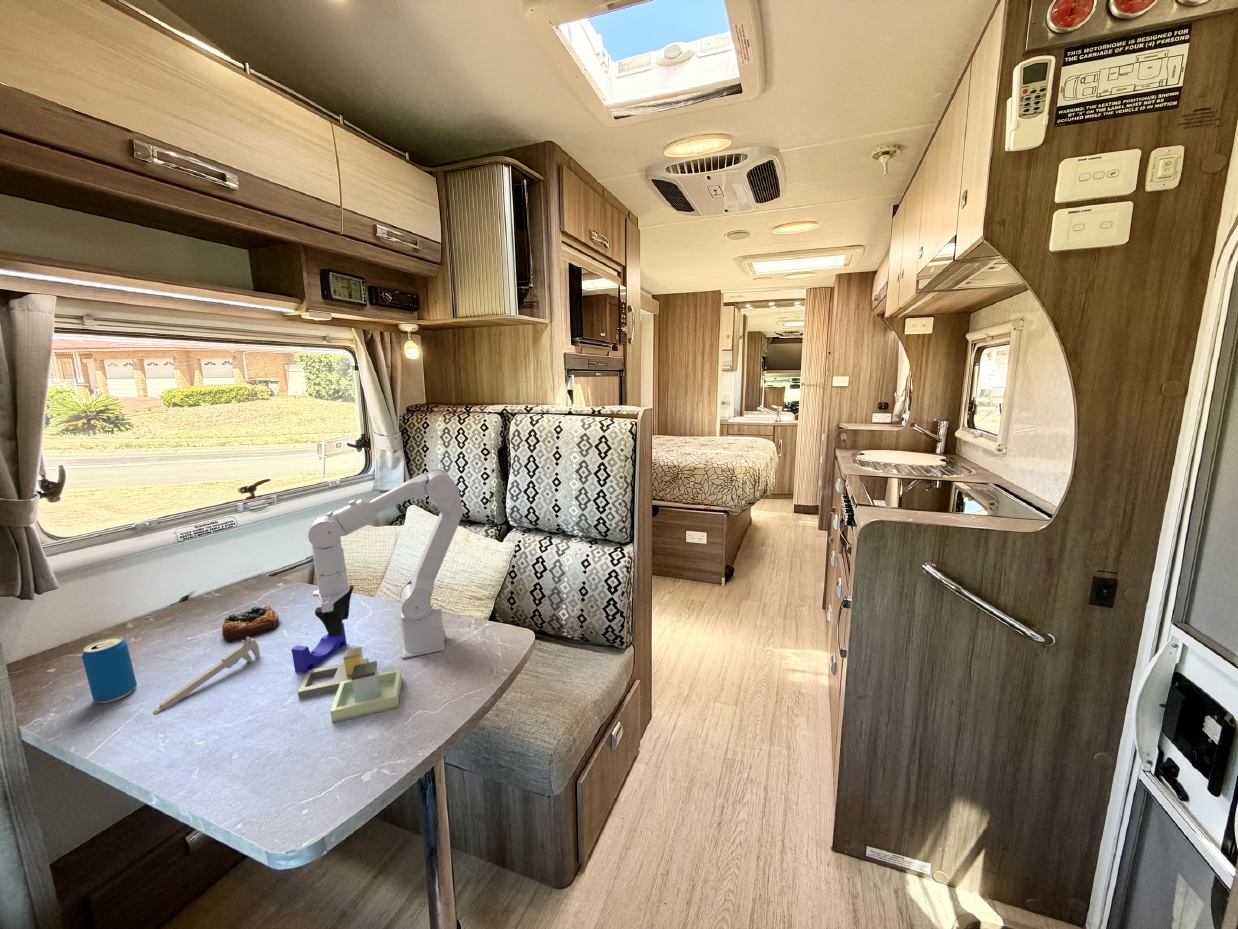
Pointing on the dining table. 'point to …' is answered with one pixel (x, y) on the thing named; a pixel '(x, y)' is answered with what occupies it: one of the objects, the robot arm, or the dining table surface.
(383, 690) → the parts tray
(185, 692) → the caliper
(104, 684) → the beverage can
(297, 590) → the dining table surface
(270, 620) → the pastry
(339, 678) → the block
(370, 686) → the grey-green rectangular block
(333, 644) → the cable clip
